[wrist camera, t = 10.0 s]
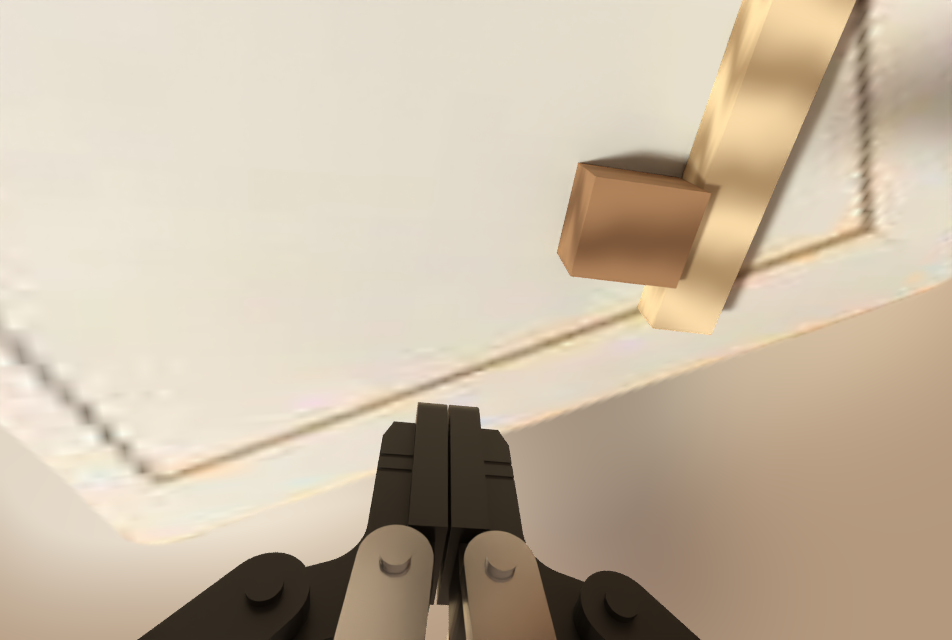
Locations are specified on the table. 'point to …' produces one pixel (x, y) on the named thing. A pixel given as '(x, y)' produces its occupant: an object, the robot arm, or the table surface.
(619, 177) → the walnut block
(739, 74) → the ash board
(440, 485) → the robot arm
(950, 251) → the table surface
